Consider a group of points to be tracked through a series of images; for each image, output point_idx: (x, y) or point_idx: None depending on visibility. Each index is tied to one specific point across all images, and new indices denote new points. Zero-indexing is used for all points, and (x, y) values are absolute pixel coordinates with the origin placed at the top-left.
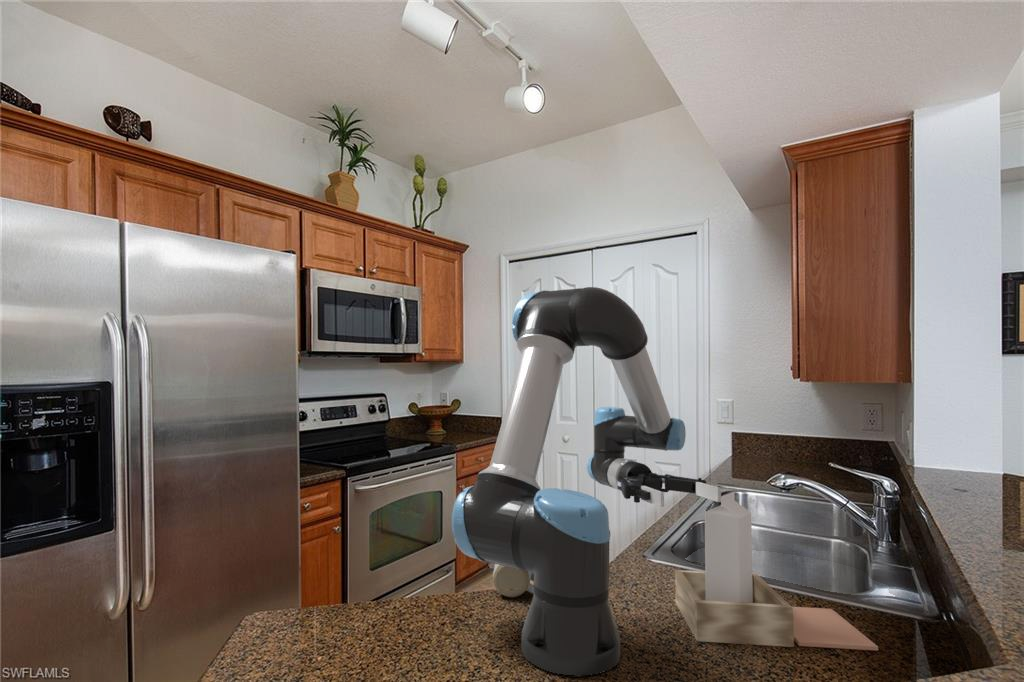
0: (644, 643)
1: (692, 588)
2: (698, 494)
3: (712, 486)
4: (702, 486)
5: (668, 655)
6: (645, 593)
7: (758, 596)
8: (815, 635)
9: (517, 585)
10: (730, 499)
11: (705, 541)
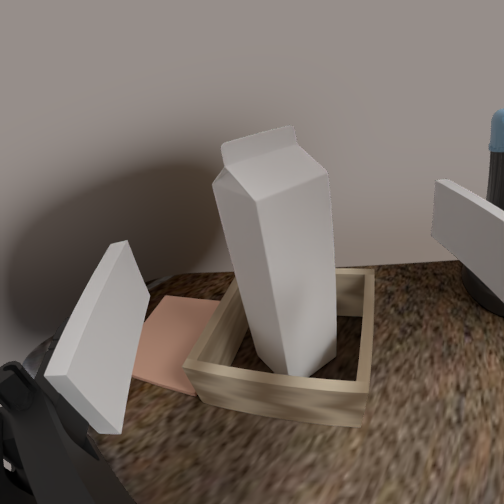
0: (438, 302)
1: (364, 307)
2: (120, 407)
3: (109, 264)
4: (99, 329)
5: (413, 284)
6: (412, 467)
7: (216, 360)
8: (207, 313)
9: None
10: (248, 152)
11: (333, 237)
